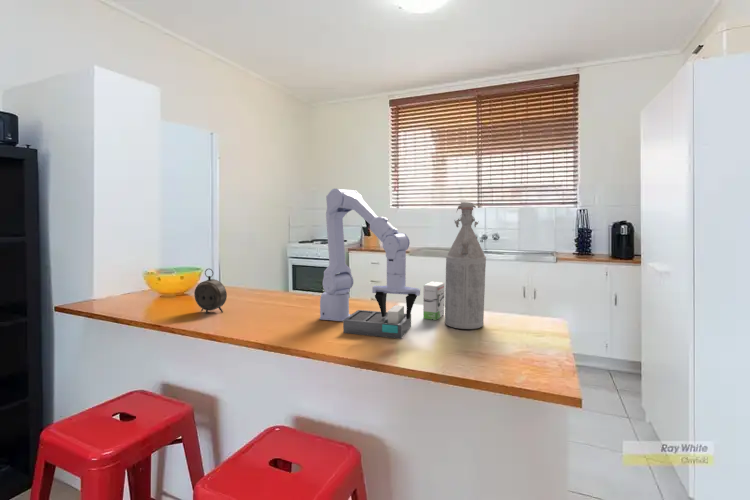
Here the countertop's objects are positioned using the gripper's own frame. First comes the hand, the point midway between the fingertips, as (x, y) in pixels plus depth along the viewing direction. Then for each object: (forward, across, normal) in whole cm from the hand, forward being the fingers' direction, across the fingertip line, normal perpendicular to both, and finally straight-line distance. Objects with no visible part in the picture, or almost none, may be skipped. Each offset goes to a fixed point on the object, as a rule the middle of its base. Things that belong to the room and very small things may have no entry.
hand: (395, 317), depth 119 cm
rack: (+4, -6, 0) cm, 7 cm away
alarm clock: (+5, -70, +1) cm, 70 cm away
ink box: (+5, +8, +20) cm, 23 cm away
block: (+3, 0, 0) cm, 3 cm away
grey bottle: (+5, +19, +14) cm, 25 cm away
